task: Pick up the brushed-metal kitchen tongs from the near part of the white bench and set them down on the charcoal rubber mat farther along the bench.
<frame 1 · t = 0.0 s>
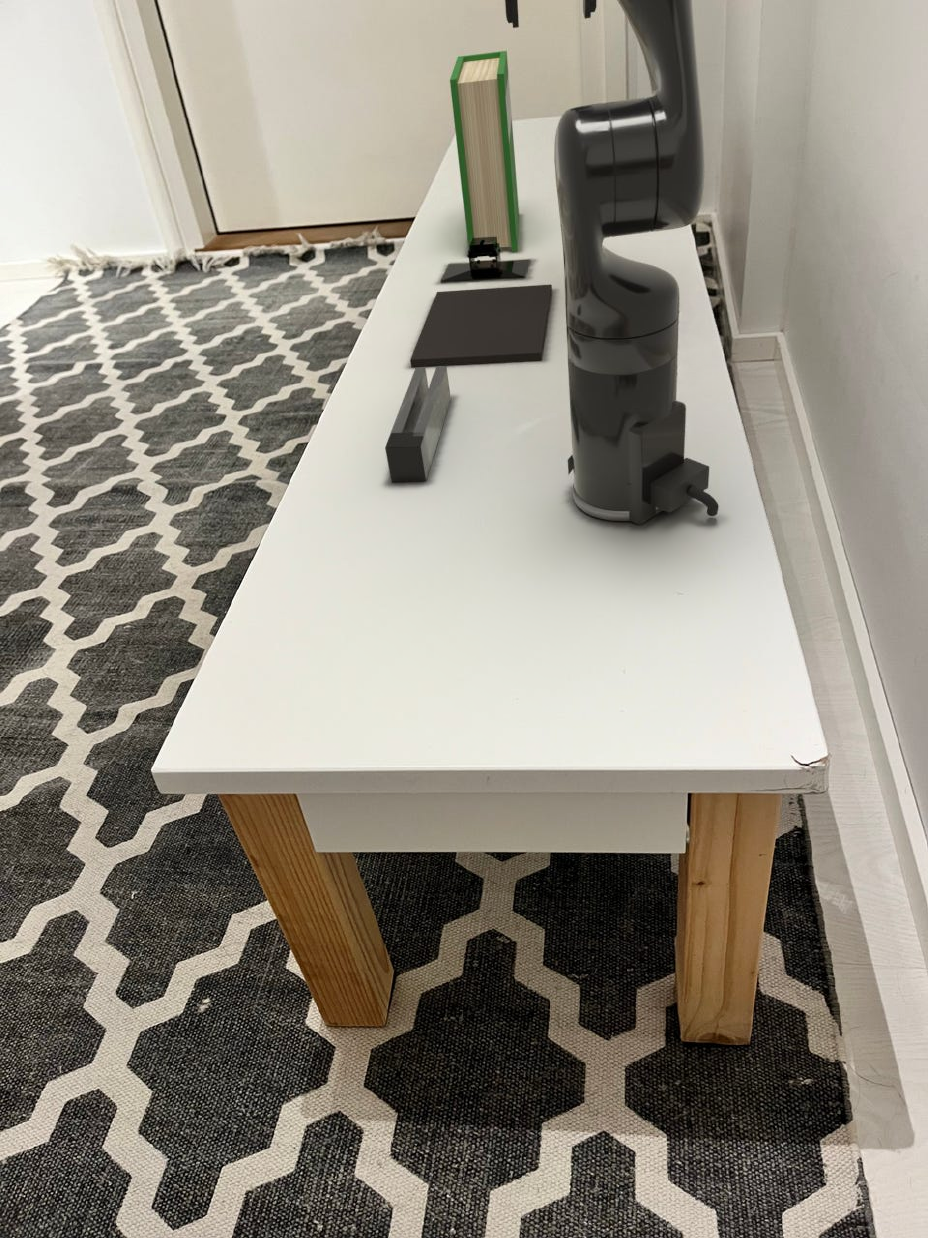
hand: (551, 19, 115), 31 cm above the table, tool tilted 20°, fingers open, 8 cm apart
hardback book: (495, 236, 153), on the table
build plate: (486, 273, 141), on the table
mat: (485, 327, 125), on the table
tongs: (424, 433, 104), on the table
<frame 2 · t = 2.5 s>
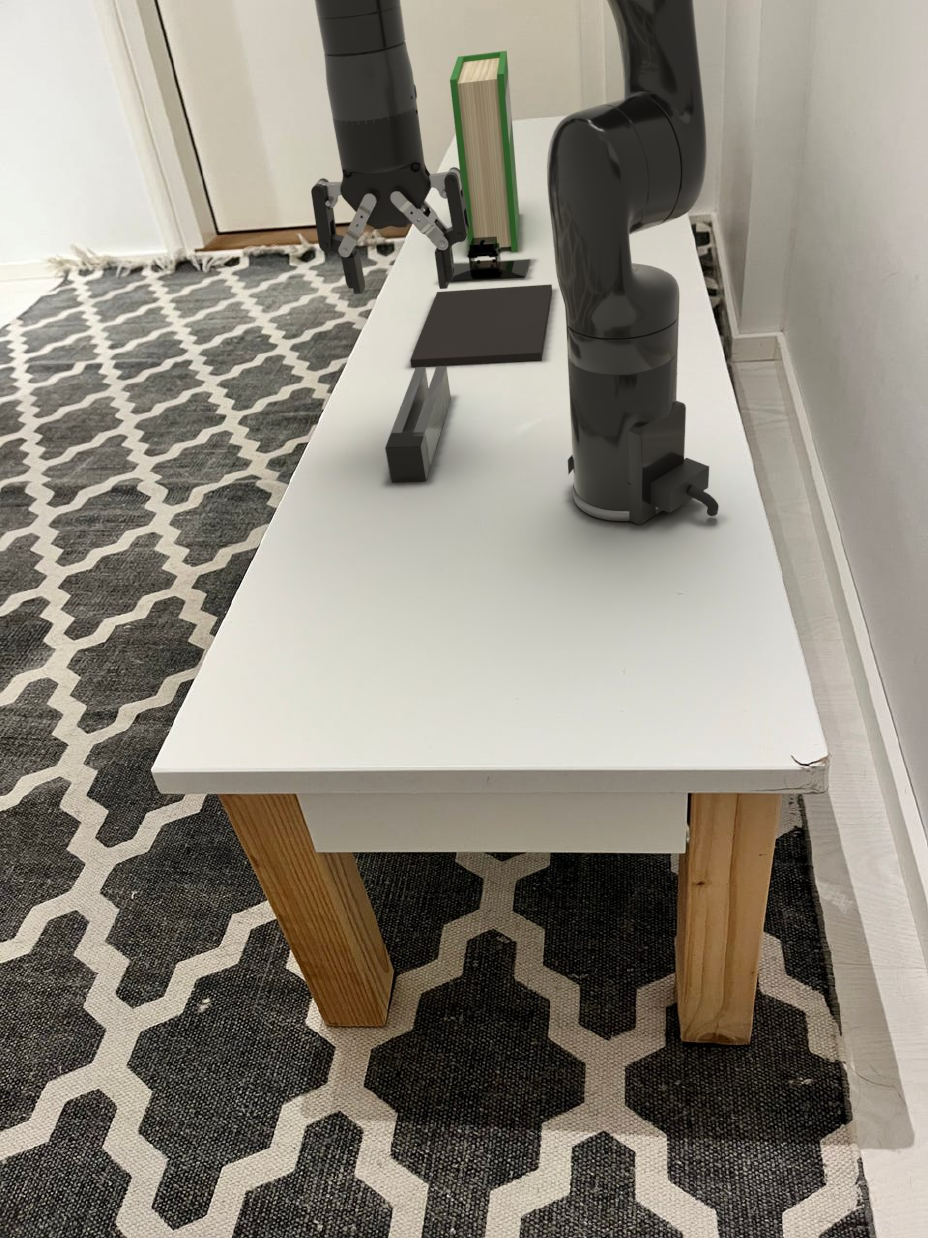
hand: (402, 288, 94), 16 cm above the table, tool pointing down, fingers open, 8 cm apart
nothing on the table moved.
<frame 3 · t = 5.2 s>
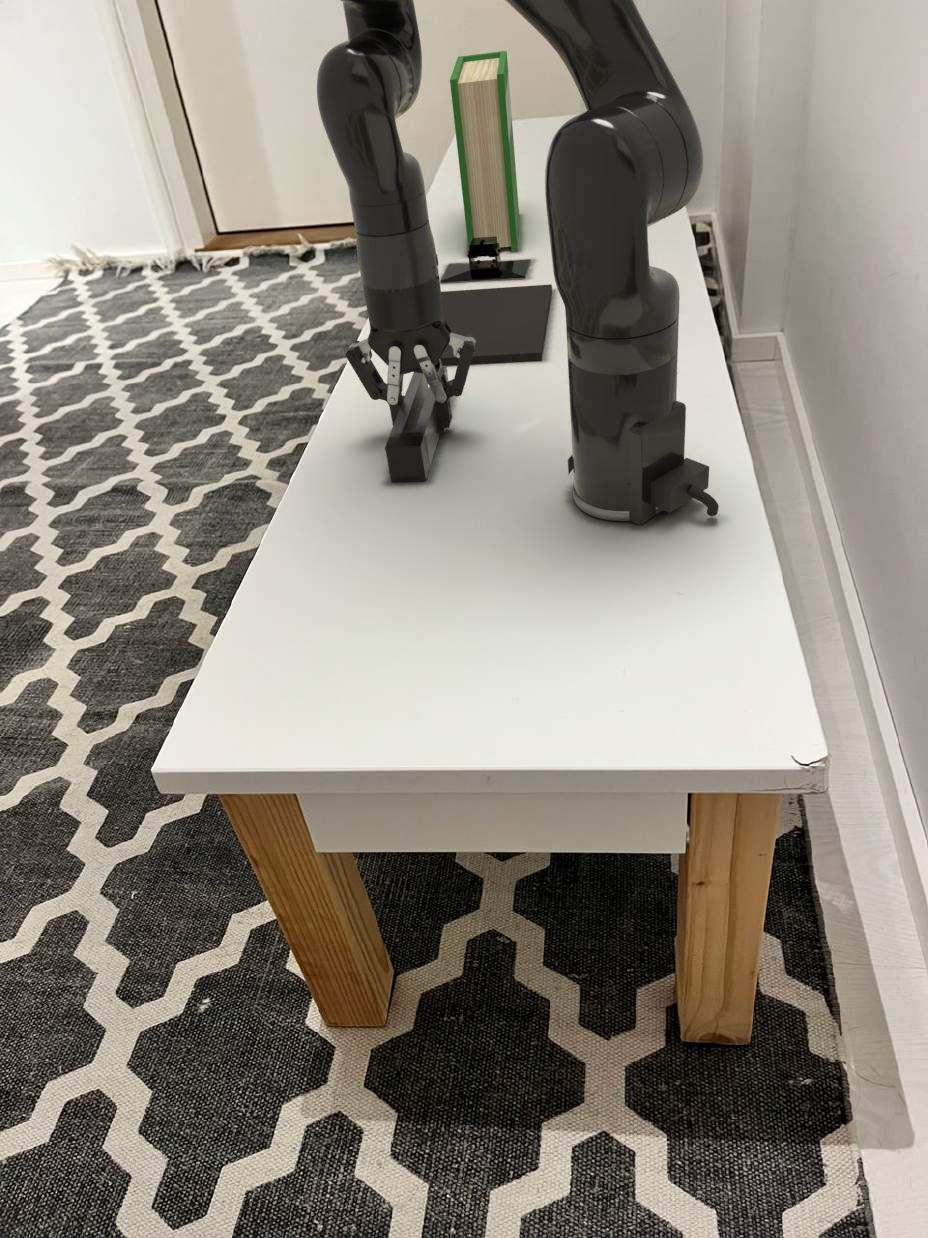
hand: (424, 429, 104), 0 cm above the table, tool pointing down, fingers closed on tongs, 3 cm apart
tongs: (424, 433, 104), on the table, touching gripper
everything else where it was.
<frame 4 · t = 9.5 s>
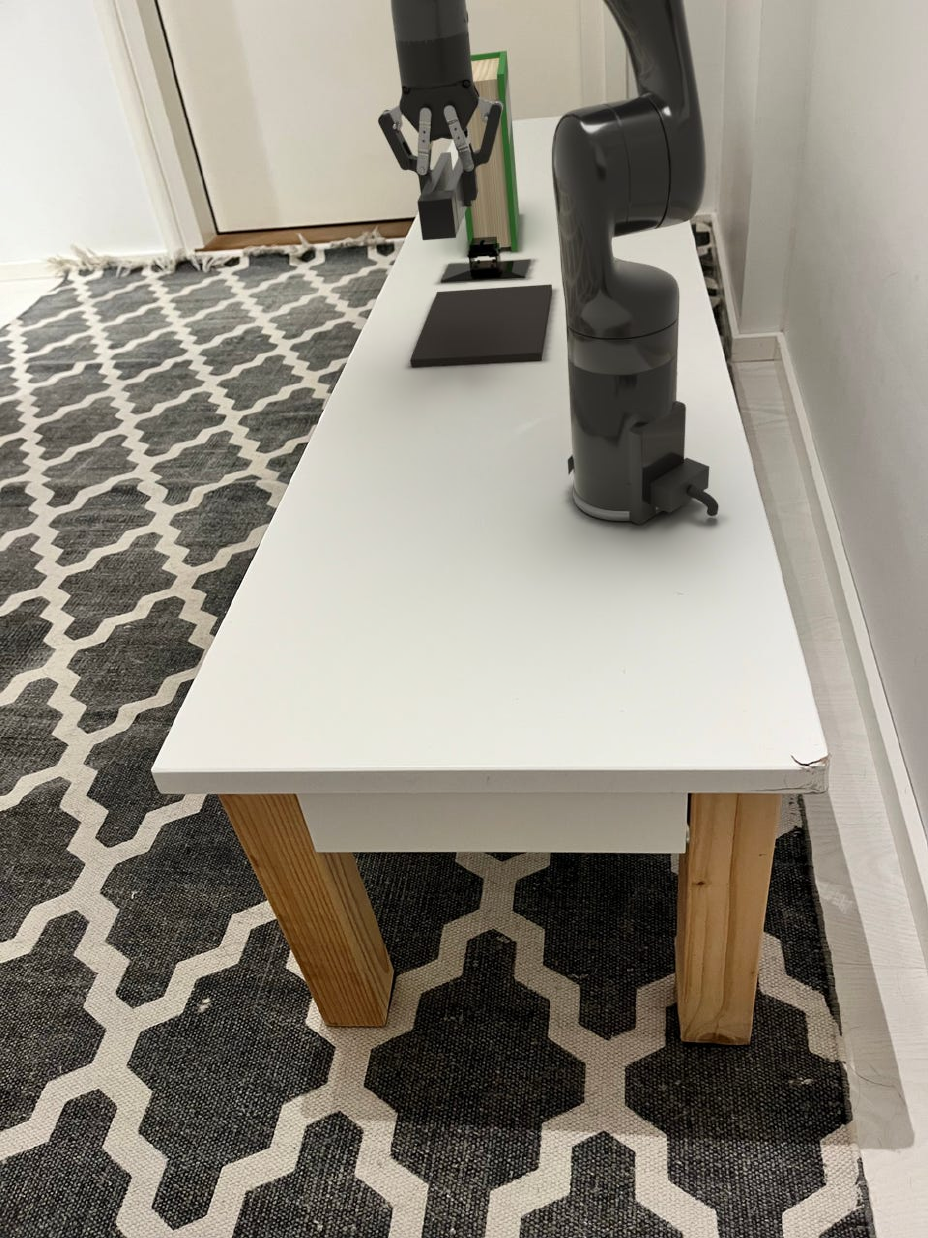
hand: (451, 204, 108), 18 cm above the table, tool pointing down, fingers closed on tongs, 3 cm apart
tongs: (451, 208, 109), point 17 cm above the table, touching gripper
everything else where it was.
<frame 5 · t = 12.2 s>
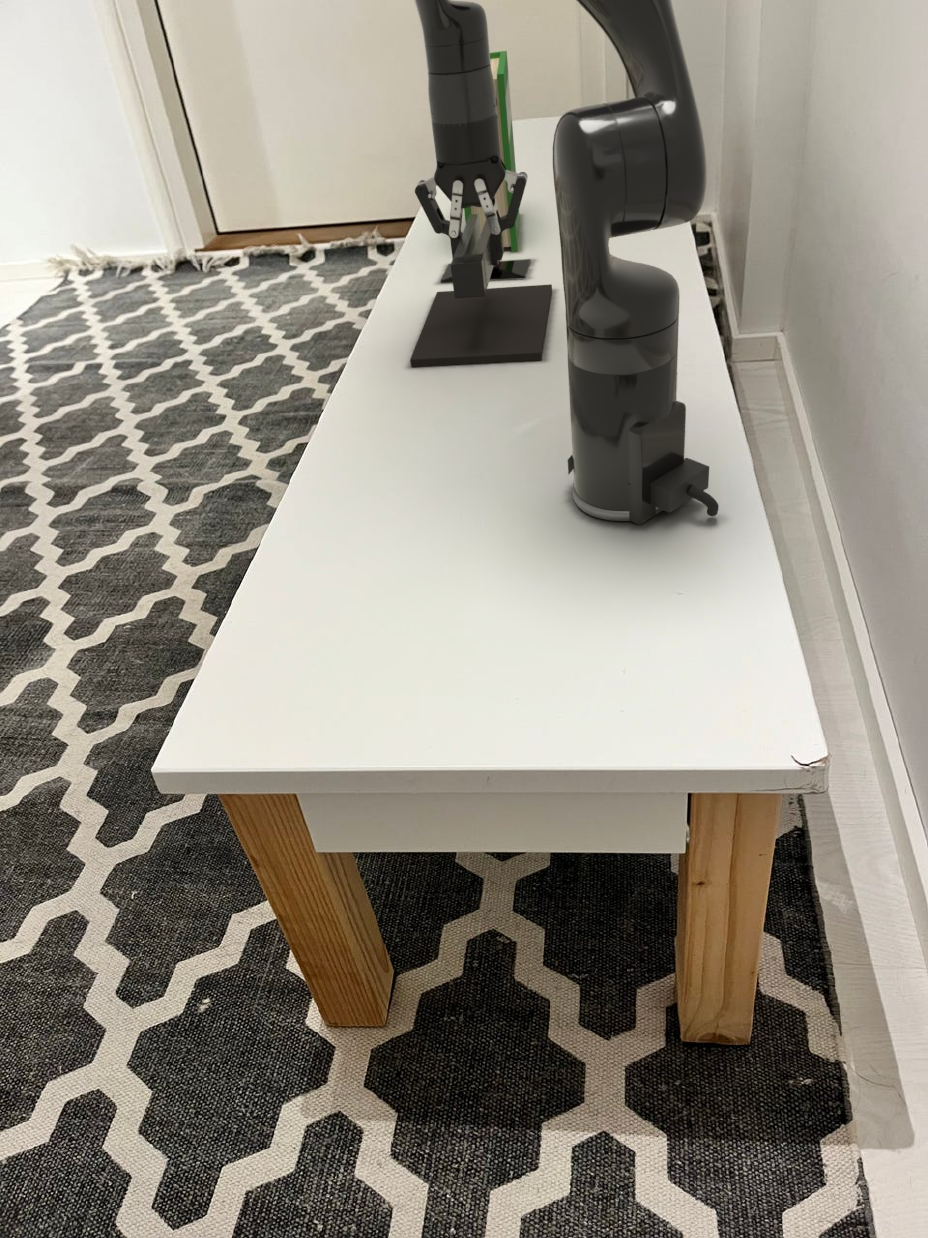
hand: (479, 263, 120), 8 cm above the table, tool pointing down, fingers closed on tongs, 3 cm apart
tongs: (479, 266, 120), point 8 cm above the table, touching gripper
everything else where it was.
when the fingers open (1 cm above the table, at t = 14.2 s): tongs stays where it is, resting on mat.
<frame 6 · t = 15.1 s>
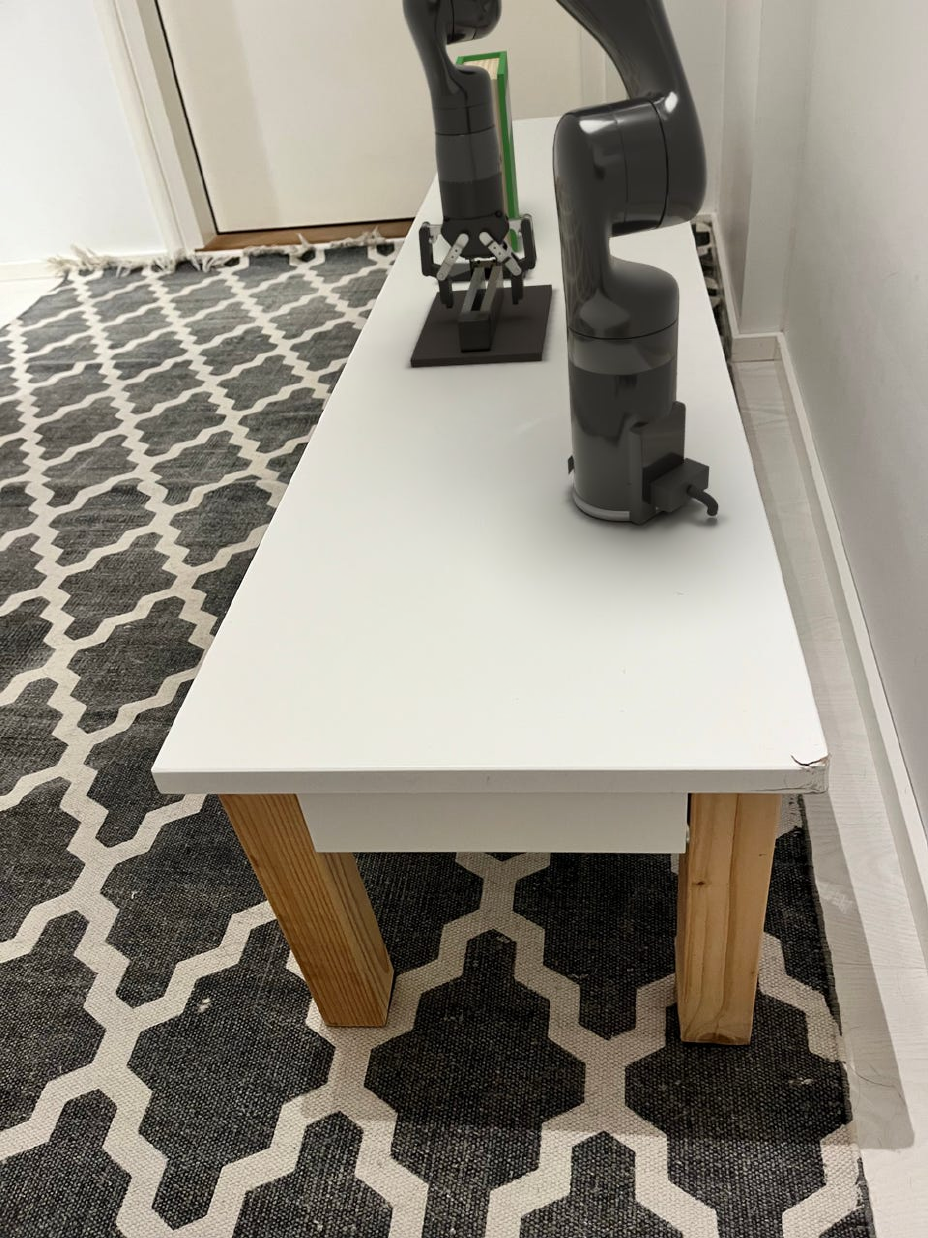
hand: (483, 304, 123), 3 cm above the table, tool pointing down, fingers open, 8 cm apart
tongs: (484, 319, 124), point 1 cm above the table, touching mat
everything else where it was.
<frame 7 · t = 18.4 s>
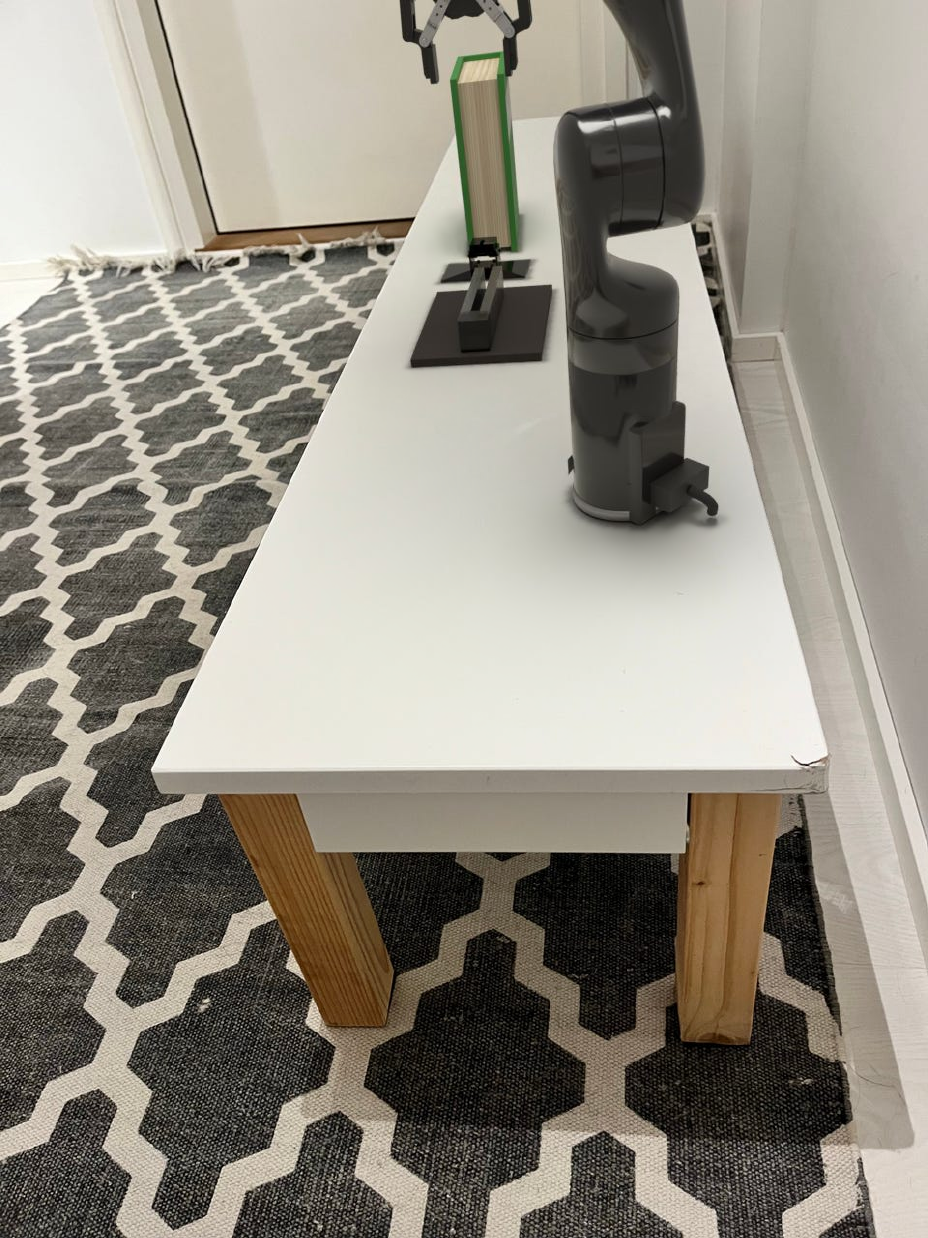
hand: (472, 78, 109), 28 cm above the table, tool pointing down, fingers open, 8 cm apart
nothing on the table moved.
at the end: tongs inside the target area on the mat (0.1 cm from its centre), point 1.0 cm above the mat's base; the gripper is holding nothing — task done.
